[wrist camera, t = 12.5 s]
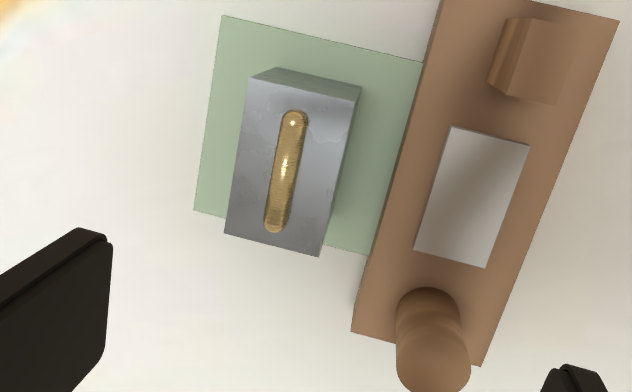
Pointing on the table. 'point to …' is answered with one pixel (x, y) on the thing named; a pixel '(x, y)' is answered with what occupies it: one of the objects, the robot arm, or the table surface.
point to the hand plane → (474, 179)
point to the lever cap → (290, 158)
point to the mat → (367, 133)
